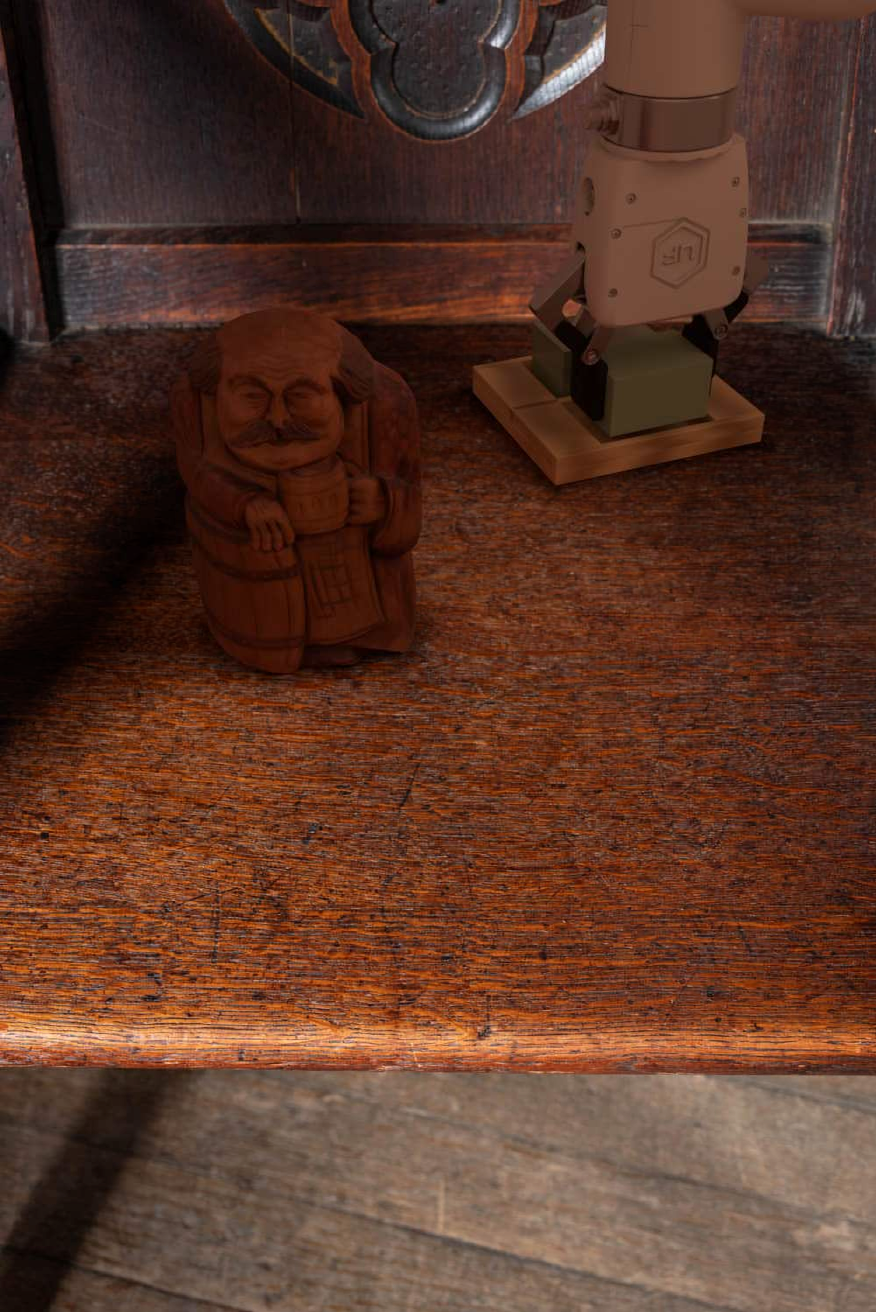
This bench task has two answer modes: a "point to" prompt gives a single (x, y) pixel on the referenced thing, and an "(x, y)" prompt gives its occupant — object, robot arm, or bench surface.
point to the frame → (576, 446)
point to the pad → (654, 382)
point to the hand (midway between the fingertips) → (641, 398)
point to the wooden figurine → (299, 491)
